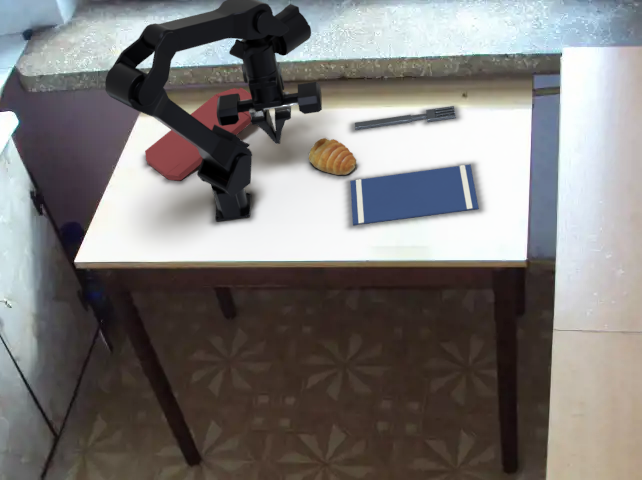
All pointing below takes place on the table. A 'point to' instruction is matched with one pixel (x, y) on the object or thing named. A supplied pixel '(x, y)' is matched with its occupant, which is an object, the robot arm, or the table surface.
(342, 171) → the pastry
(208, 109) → the red angular block
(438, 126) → the table surface
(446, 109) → the fork
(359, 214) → the napkin
